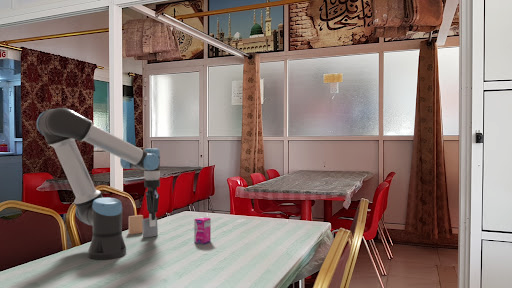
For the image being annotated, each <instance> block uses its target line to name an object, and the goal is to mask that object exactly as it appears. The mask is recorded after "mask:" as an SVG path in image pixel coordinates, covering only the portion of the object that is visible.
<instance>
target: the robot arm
mask: <svg viewBox="0 0 512 288" xmlns="http://www.w3.org/2000/svg"><path fill="white" fill-rule="evenodd" d="M36 129H37V131H38V132H39V133H40V134H41V135H42V136H44V139H45V141H46V143H47V146H50V147H52V148H53V149H54V151H55V153H56V155H57V159H58V161H59V163H60V165H61V167H62V170H63V171H64V173H65V176H66V178H67V180H68V183H69V185H70V188H71V189H72V192H73V194H74V196H75V199H74V201H73V204H74V205H75V215H76V217H77V218H78V220H79V221H80V222H82V223H83V224H85V225H88V226H92V238H91V242H90V244H89V246H88V247H89V248H88V251H87V257H88V259H93V260H111V259H116V258H121V257H122V256H125V255H126V254H127V246H126V243H125V240H124V238H123V231H122V230H123V205H122V204H123V203H122V201H121V200H120V199H118V198H115V197H104V196H103V194H102V192H101V190H98V189H96V187H95V185H94V182H93V180H92V178H91V176H90V173H89V171H88V169H87V167H86V164H85V162H84V159H83V156H82V155H81V152H80V150H79V147H78V146H77V143H76V141H78V142H86V143H88V144H89V145H92V146H94V147H96V148H98V149H100V150H103V151H105V152H107V153H109V154H110V155H113V156H116V157H118V158H120V159H119V161H120V163H119V164H120V167H121V168H123V170H124V169H125V170H126V169H127V170H130V169H134V170H135V169H136V170H144V172H143V173H144V175H143V177H144V187H145V188H147V190H146V191H145V192H144V193H145V194H144V195H145V200H146V211H147V212H148V214H149V216H148V218H149V226H150V227H153V226H156V218H157V216H156V214H157V213H158V212H159V211H158V210H159V201H160V194H159V193H158V188H160V187H161V179H160V177H161V168H160V167H161V155H160V154H161V153H160V149H159V148H156V147H155V148H154V147H152V148H149V147H148V148H144V150H143V149H141V148H140V147H138V146H135V145H134V144H132V143H130V142H128V141H127V140H124V139H122V138H121V137H118V136H116V135H114V134H112V133H110V132H108V131H106V130H105V129H102V128H101V127H98V125H94V123H93V121H92V120H90V119H89V118H86V117H85V116H83V115H81V114H79V113H78V112H75V111H74V110H72V109H69V108H66V107H57V108H51V109H47V110H44V111H42V112H41V113H40V114H39V116H38V117H37V120H36Z"/></svg>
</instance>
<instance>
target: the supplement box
mask: <svg viewBox="0 0 512 288" xmlns="http://www.w3.org/2000/svg"><path fill="white" fill-rule="evenodd" d="M193 221H194V224H193V226H194V228H193V229H194V231H193V233H194V235H193V236H194V237H193V238H194V242H193V243H195V244H200V245H205V244H209V243H210V242H211V237H212V236H211V233H212V232H211V222H212V219H211V217H205V216H200V217H197V218H194V219H193Z"/></svg>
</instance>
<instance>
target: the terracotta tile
mask: <svg viewBox="0 0 512 288" xmlns="http://www.w3.org/2000/svg"><path fill="white" fill-rule="evenodd" d="M142 219H144V215H142V214H138V215H137V214H136V215H129V216H128V234H129V235H135V234H140V233H141V234H143V225H142Z"/></svg>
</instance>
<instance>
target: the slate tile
mask: <svg viewBox="0 0 512 288" xmlns="http://www.w3.org/2000/svg"><path fill="white" fill-rule="evenodd" d="M142 225H143V233H142V238H151V237H152V238H153V237H158V236H159V234H158V232H159V231H158V230H159V229H158V217H156V226H153V227H150V226H149V217H148V218H143V219H142Z"/></svg>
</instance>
